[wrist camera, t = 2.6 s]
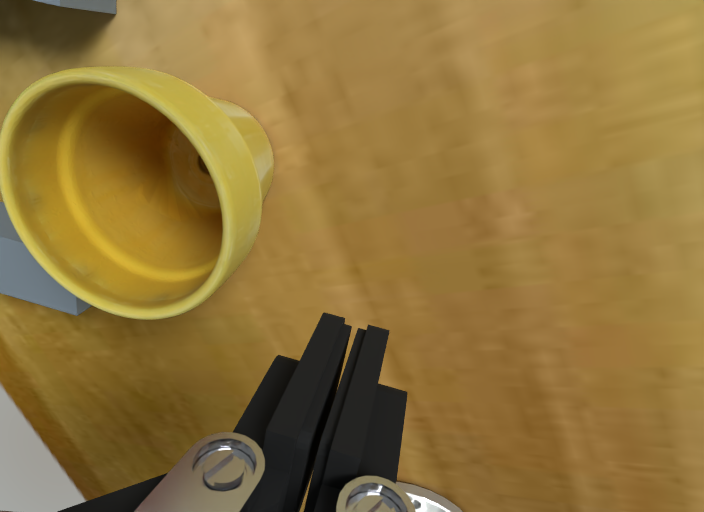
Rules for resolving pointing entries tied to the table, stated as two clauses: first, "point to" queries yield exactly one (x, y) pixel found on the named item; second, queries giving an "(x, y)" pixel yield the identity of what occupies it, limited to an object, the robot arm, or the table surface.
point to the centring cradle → (10, 252)
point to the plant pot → (133, 186)
